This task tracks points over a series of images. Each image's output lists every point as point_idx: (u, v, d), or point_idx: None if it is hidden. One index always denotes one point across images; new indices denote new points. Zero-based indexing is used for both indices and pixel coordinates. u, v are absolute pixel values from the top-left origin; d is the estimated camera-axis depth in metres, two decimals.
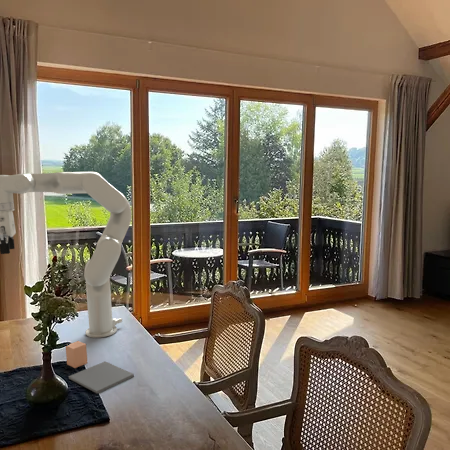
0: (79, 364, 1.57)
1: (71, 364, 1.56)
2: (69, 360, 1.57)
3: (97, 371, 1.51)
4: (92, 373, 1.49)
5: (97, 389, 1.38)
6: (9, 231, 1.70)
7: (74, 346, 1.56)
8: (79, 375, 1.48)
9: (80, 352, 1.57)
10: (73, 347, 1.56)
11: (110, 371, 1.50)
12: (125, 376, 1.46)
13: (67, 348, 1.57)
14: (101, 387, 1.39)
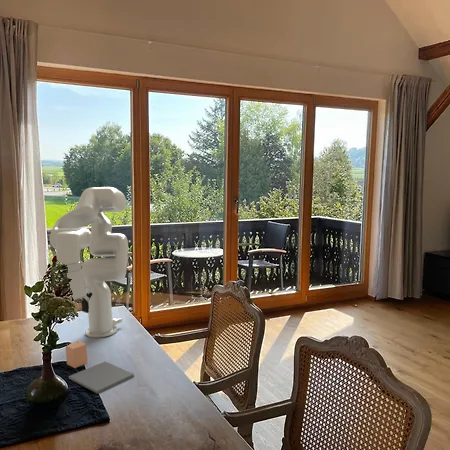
0: (79, 364, 1.57)
1: (71, 364, 1.56)
2: (69, 360, 1.57)
3: (97, 371, 1.51)
4: (92, 373, 1.49)
5: (97, 389, 1.38)
6: None
7: (74, 346, 1.56)
8: (79, 375, 1.48)
9: (80, 352, 1.57)
10: (73, 347, 1.56)
11: (110, 371, 1.50)
12: (125, 376, 1.46)
13: (67, 348, 1.57)
14: (101, 387, 1.39)
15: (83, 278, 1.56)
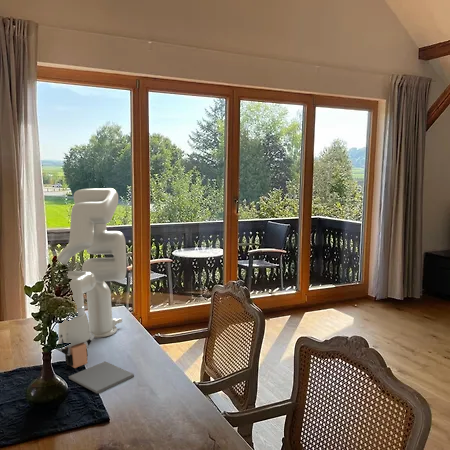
0: (79, 364, 1.57)
1: None
2: None
3: (97, 371, 1.51)
4: (92, 373, 1.49)
5: (97, 389, 1.38)
6: None
7: (74, 346, 1.56)
8: (79, 375, 1.48)
9: (80, 352, 1.57)
10: (73, 347, 1.56)
11: (110, 371, 1.50)
12: (125, 376, 1.46)
13: None
14: (101, 387, 1.39)
15: (87, 322, 1.58)
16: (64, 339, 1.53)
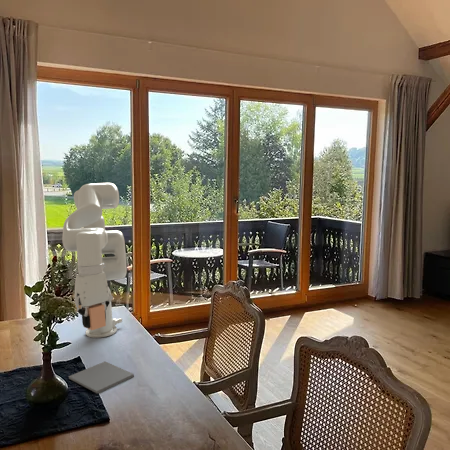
0: (97, 326, 1.44)
1: None
2: None
3: (97, 371, 1.51)
4: (92, 373, 1.49)
5: (97, 389, 1.38)
6: None
7: (91, 307, 1.44)
8: (79, 375, 1.48)
9: (98, 313, 1.44)
10: (90, 307, 1.43)
11: (110, 371, 1.50)
12: (125, 376, 1.46)
13: None
14: (101, 387, 1.39)
15: (105, 281, 1.46)
16: (81, 298, 1.40)
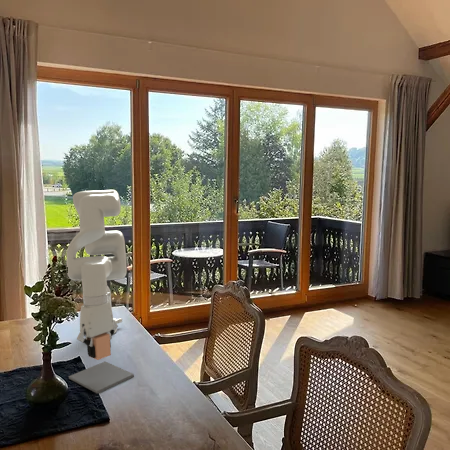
0: (102, 356, 1.44)
1: None
2: None
3: (97, 371, 1.51)
4: (92, 373, 1.49)
5: (97, 389, 1.38)
6: None
7: (96, 337, 1.44)
8: (79, 375, 1.48)
9: (103, 343, 1.44)
10: (96, 337, 1.43)
11: (110, 371, 1.50)
12: (125, 376, 1.46)
13: None
14: (101, 387, 1.39)
15: (110, 310, 1.46)
16: (86, 328, 1.40)
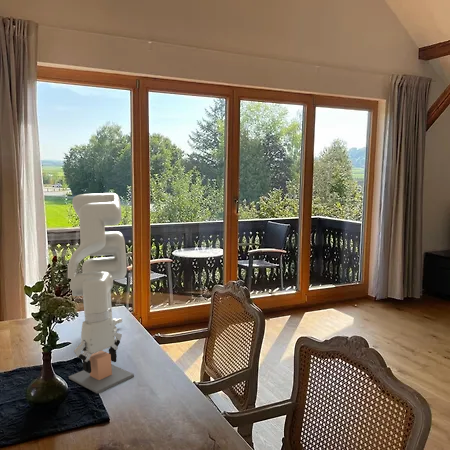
0: (103, 376, 1.45)
1: (95, 376, 1.45)
2: (92, 371, 1.46)
3: None
4: None
5: (97, 389, 1.38)
6: None
7: (98, 357, 1.45)
8: (79, 375, 1.48)
9: (104, 363, 1.45)
10: (97, 357, 1.44)
11: None
12: (125, 376, 1.46)
13: (90, 358, 1.46)
14: (101, 387, 1.39)
15: (111, 326, 1.47)
16: (88, 345, 1.41)
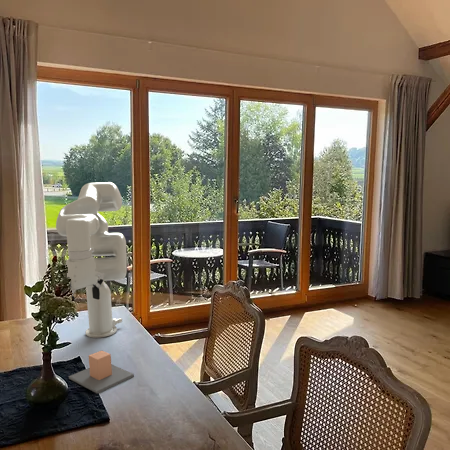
0: (103, 376, 1.45)
1: (95, 376, 1.45)
2: (92, 371, 1.46)
3: None
4: None
5: (97, 389, 1.38)
6: None
7: (98, 357, 1.45)
8: (79, 375, 1.48)
9: (104, 363, 1.45)
10: (97, 357, 1.44)
11: None
12: (125, 376, 1.46)
13: (90, 358, 1.46)
14: (101, 387, 1.39)
15: (94, 265, 1.54)
16: (72, 281, 1.49)
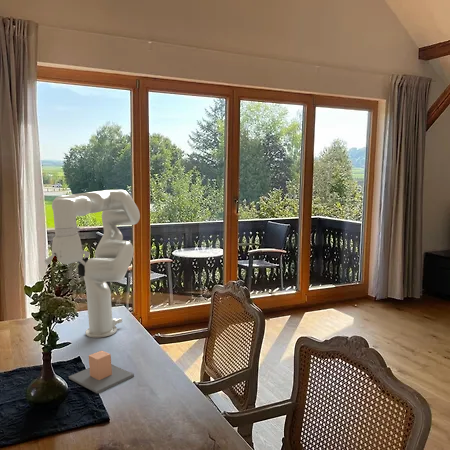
0: (103, 376, 1.45)
1: (95, 376, 1.45)
2: (92, 371, 1.46)
3: None
4: None
5: (97, 389, 1.38)
6: None
7: (98, 357, 1.45)
8: (79, 375, 1.48)
9: (104, 363, 1.45)
10: (97, 357, 1.44)
11: None
12: (125, 376, 1.46)
13: (90, 358, 1.46)
14: (101, 387, 1.39)
15: (79, 243, 1.64)
16: (57, 256, 1.59)
